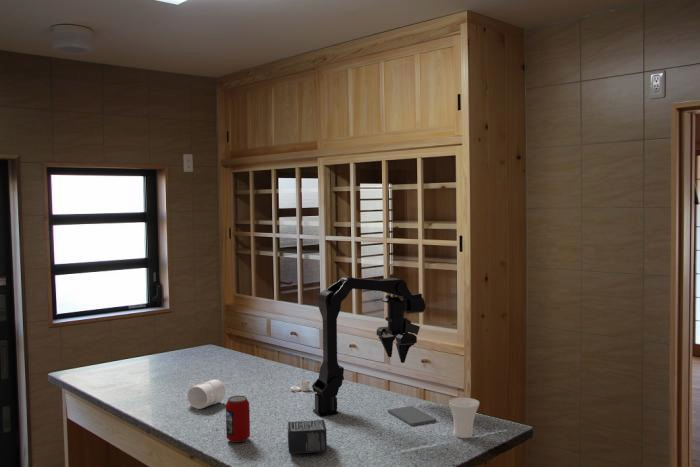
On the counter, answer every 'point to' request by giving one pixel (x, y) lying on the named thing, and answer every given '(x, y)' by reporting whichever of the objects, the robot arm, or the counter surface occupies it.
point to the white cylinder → (206, 394)
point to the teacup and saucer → (302, 387)
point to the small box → (307, 436)
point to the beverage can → (237, 419)
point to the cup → (463, 416)
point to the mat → (411, 415)
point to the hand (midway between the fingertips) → (396, 359)
